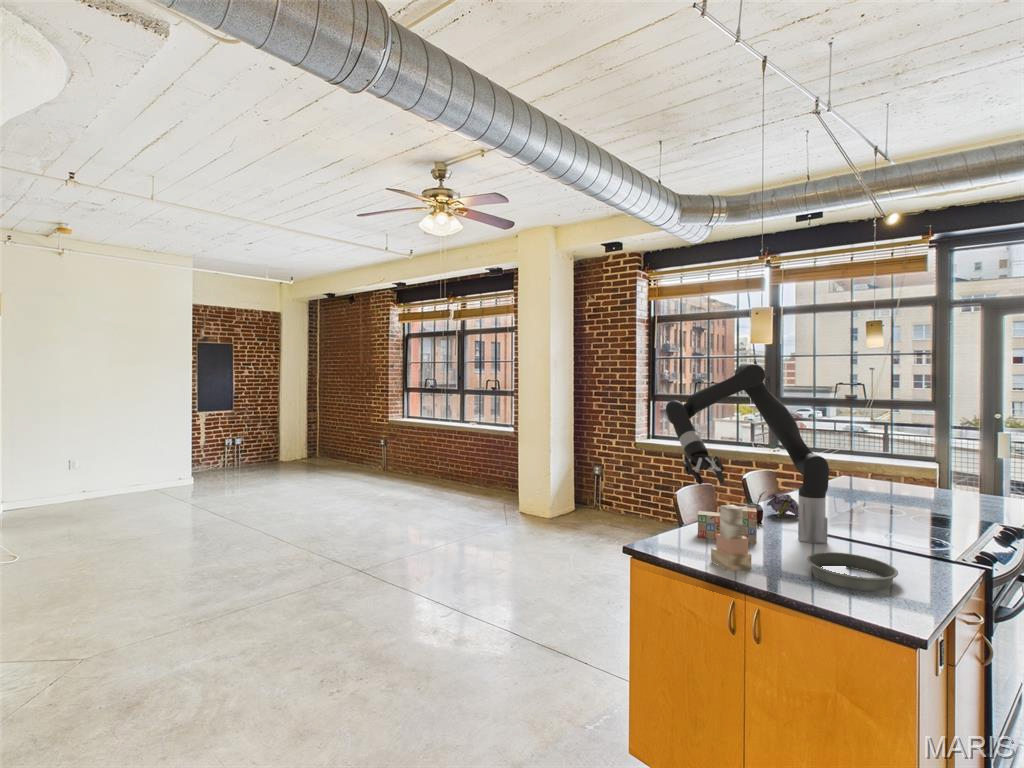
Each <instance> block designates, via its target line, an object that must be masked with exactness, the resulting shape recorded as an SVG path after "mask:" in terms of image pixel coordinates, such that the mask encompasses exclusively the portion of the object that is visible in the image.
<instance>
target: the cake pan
mask: <svg viewBox="0 0 1024 768" xmlns="http://www.w3.org/2000/svg"><path fill="white" fill-rule="evenodd" d="M806 561H807V562H808V564H809V565H810V567H811V572H812V574H813V576H814V577H816V578H817V579H819V580H821V581H823V582H825V583H828V584H831V585H832V586H833V585H834V586H837V587H841V588H845V589H851V590H859V591H860V590H861V591H882V590H886V589H890V587H891V586H892V583H893V580H894V579H896V577H898V575H899V571H898V570H897V568H895V567H894V566H893V565H891V564H890V563H889V564H888V563H887V562H884V561H881V560H878V559H876V558H872V557H868V556H864V555H863V556H862V555H860V554H854V553H847V552H846V553H845V552H835V551H830V552H829V551H824V552H815V553H812V554H809V555H808V556H807V557H806ZM822 566H846V567H848V568H849V567H853V568H852V569H855V568H858V569H857V570H860V569H863V570H862V571H864V570H867V571H866V572H868V571H870V572H869V573H871V572H873V573H872V574H874V573H876V574H875V575H877V574H878V575H877V576H879V575H880V577H864V576H861V577H857V576H850V575H847V574H845V573H844V574H840V573H836V572H832V571H829V570H826V569H823V567H822ZM821 567H822V568H821Z"/></svg>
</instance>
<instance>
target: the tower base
mask: <svg viewBox="0 0 1024 768" xmlns="http://www.w3.org/2000/svg"><path fill="white" fill-rule="evenodd" d="M711 561H712V562H714V563H716V564H718V565H719V566H721V567H723V568H724V569H723V568H722V569H723V570H725V569H726V570H725V571H727V570H732V571H739V570H741V569H742V570H749V569H750V568H751V569H752V554H751V553H750V552H748V553H745V554H737V555H729V554H727V553H725V552H722V551H720V550H718V549H717V547H711V548H710V562H711ZM712 562H711V563H712ZM714 563H713V564H714ZM716 564H715V565H716ZM718 565H717V566H718ZM719 566H718V567H719ZM721 567H720V568H721Z"/></svg>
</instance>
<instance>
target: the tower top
mask: <svg viewBox="0 0 1024 768" xmlns="http://www.w3.org/2000/svg"><path fill="white" fill-rule="evenodd" d="M716 548H717V549H718V550H720V551H722V552H725V553H727V554H729V555H737V554H745V553H749V543H748V538H747V537H744V536H742V538H739V539H727V538H725V537H723V536H721V535H720V534H717V539H716Z"/></svg>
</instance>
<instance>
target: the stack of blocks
mask: <svg viewBox="0 0 1024 768" xmlns="http://www.w3.org/2000/svg"><path fill="white" fill-rule="evenodd" d="M740 507H741V508H743V509H742V536H744V537H747V538H748V544H749V543H751V544H757V531H758V529H757V528H758V524H757V510H756V508H747V507H746V506H740ZM717 534H720V512H714V511H703V510H698V513H697V538H700V539H701V538H703V539H709V540H710V539H711V540H717Z"/></svg>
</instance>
